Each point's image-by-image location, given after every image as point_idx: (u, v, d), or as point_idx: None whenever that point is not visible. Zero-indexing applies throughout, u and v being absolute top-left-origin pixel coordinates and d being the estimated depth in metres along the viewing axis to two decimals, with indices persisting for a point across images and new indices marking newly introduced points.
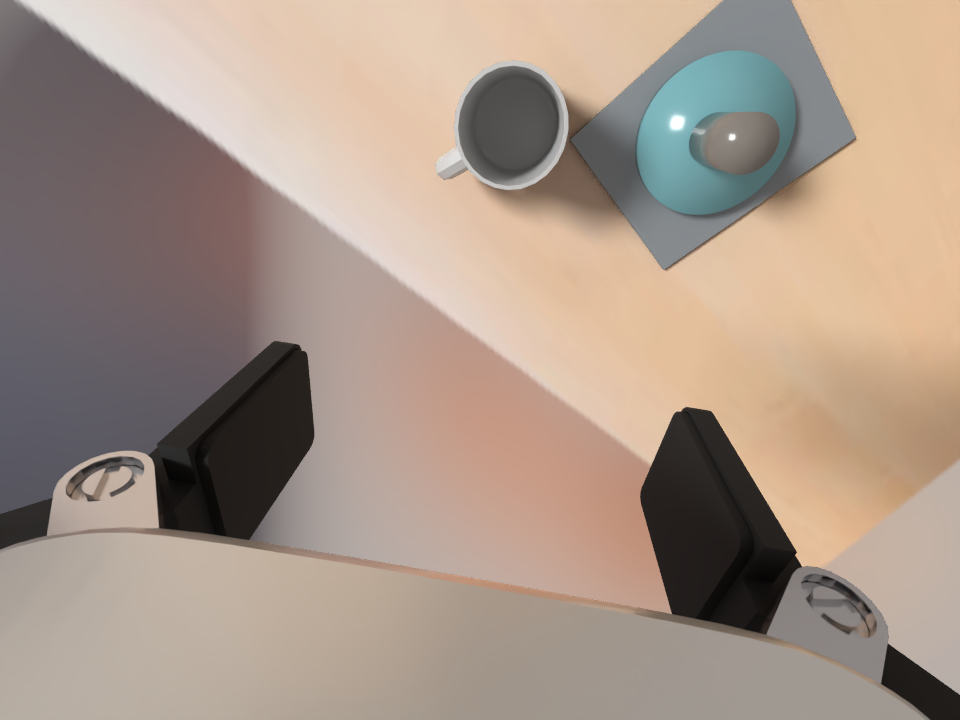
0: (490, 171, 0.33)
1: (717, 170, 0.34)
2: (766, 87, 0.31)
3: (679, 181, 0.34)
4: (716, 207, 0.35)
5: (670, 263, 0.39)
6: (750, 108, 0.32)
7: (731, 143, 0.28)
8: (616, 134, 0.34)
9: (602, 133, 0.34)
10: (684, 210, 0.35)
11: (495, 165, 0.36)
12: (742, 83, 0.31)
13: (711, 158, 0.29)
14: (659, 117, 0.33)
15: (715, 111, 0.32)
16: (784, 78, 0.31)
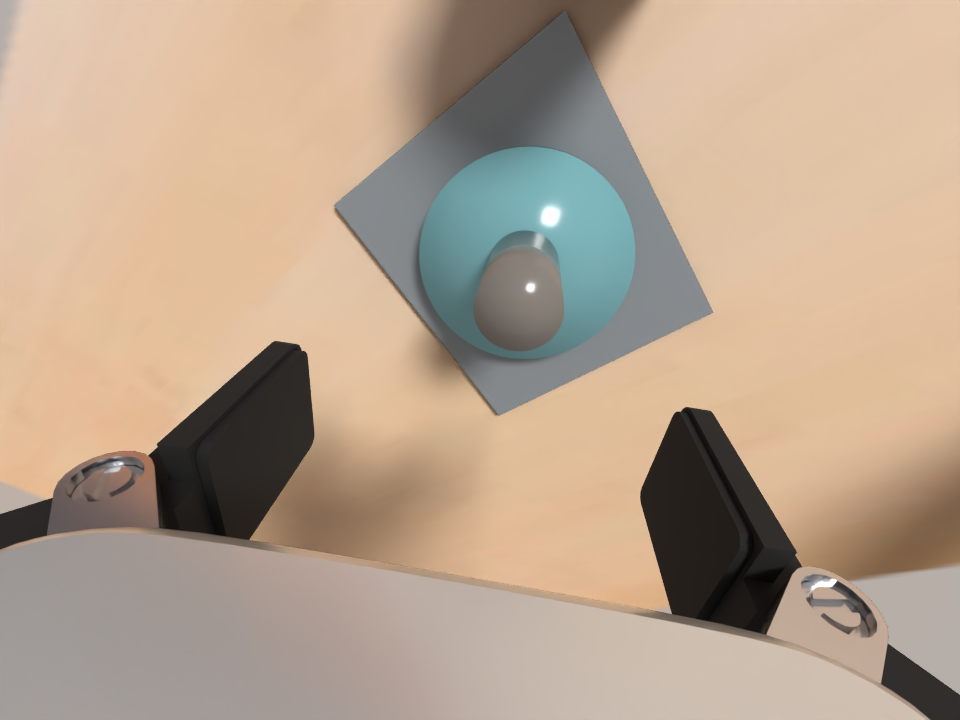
0: None
1: (480, 273, 0.23)
2: (575, 323, 0.24)
3: (470, 220, 0.22)
4: (429, 277, 0.23)
5: (345, 216, 0.24)
6: None
7: (524, 287, 0.17)
8: (556, 109, 0.20)
9: (563, 81, 0.19)
10: (426, 231, 0.22)
11: None
12: (587, 295, 0.23)
13: (502, 259, 0.18)
14: (570, 181, 0.20)
15: (560, 264, 0.22)
16: (580, 342, 0.24)
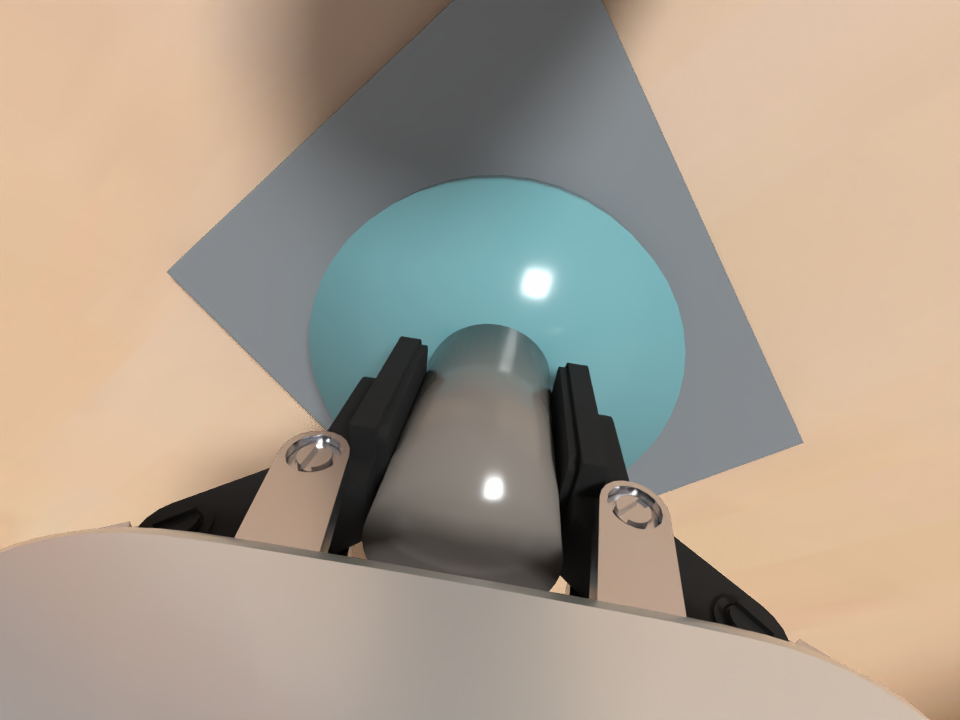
0: None
1: None
2: None
3: (392, 306, 0.12)
4: (331, 392, 0.14)
5: (188, 289, 0.14)
6: None
7: (469, 516, 0.07)
8: (542, 109, 0.10)
9: (554, 54, 0.10)
10: (317, 322, 0.13)
11: None
12: None
13: (429, 430, 0.08)
14: (568, 243, 0.11)
15: (552, 377, 0.13)
16: None
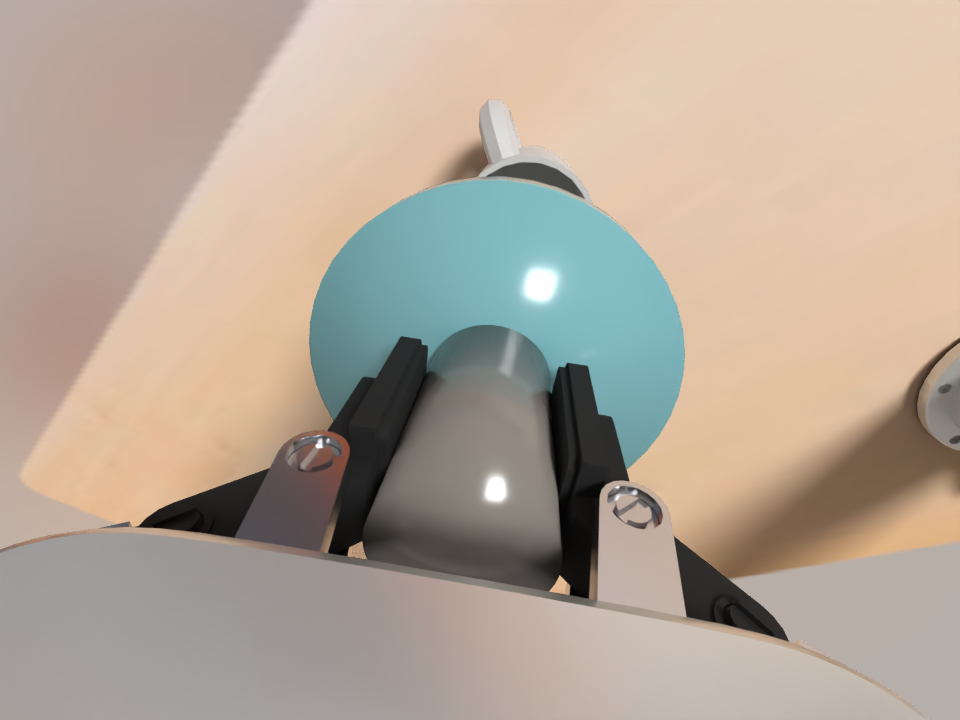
0: None
1: None
2: None
3: (392, 307, 0.12)
4: (331, 393, 0.14)
5: None
6: None
7: (469, 517, 0.07)
8: None
9: None
10: (317, 323, 0.13)
11: None
12: None
13: (429, 431, 0.08)
14: (568, 244, 0.11)
15: (552, 378, 0.13)
16: None
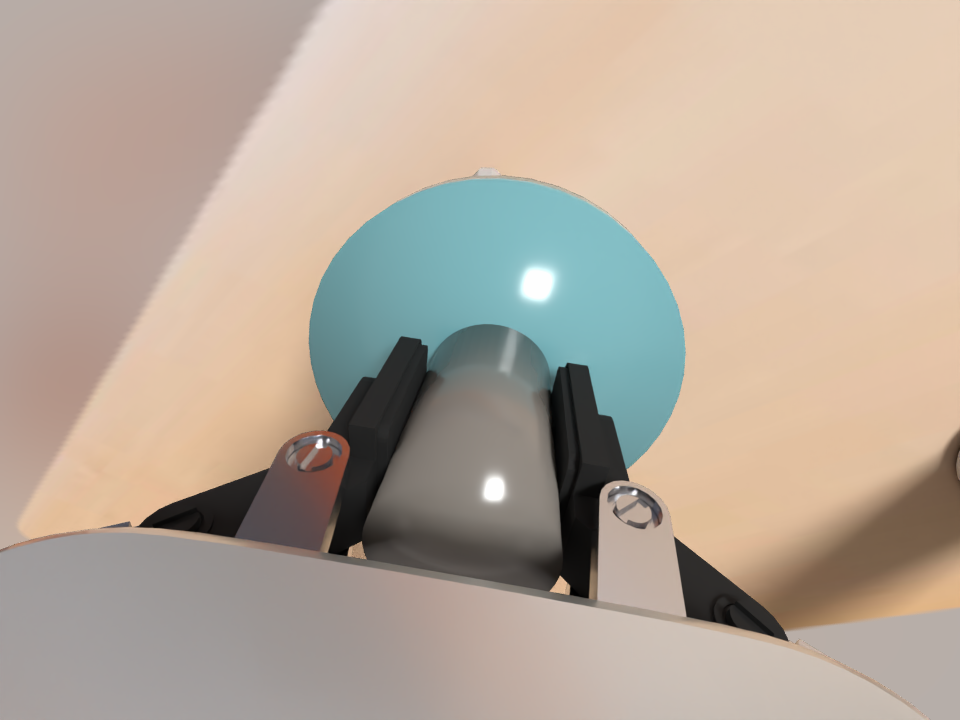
0: None
1: None
2: None
3: (392, 307, 0.12)
4: (331, 392, 0.14)
5: None
6: None
7: (469, 517, 0.07)
8: None
9: None
10: (317, 322, 0.13)
11: None
12: None
13: (429, 430, 0.08)
14: (568, 243, 0.11)
15: (552, 378, 0.13)
16: None
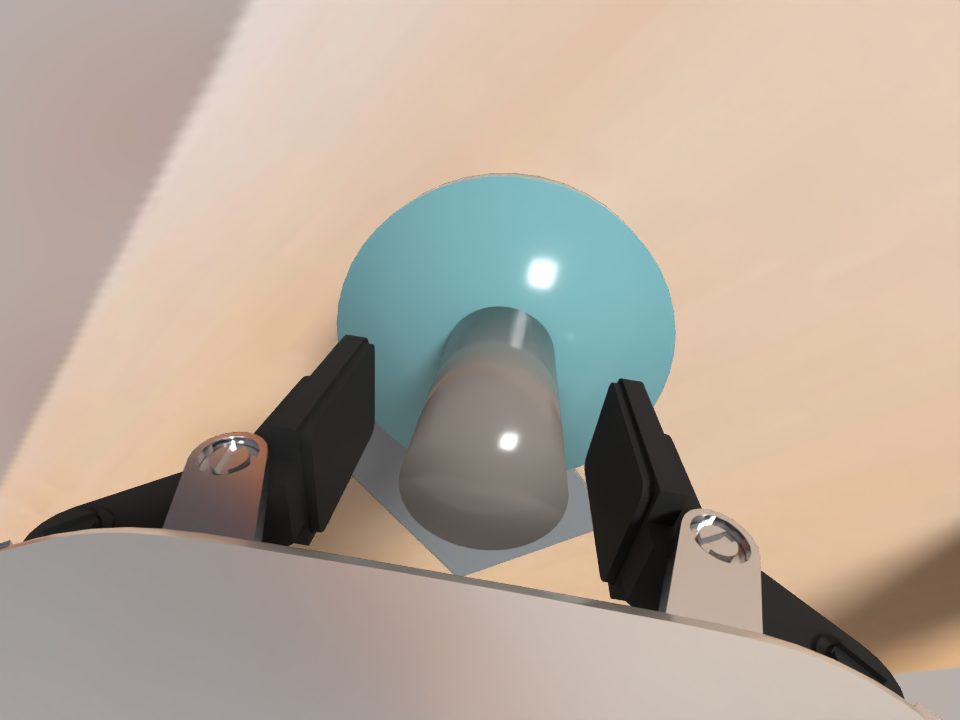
0: None
1: (434, 366, 0.15)
2: (579, 436, 0.16)
3: (414, 290, 0.14)
4: None
5: None
6: None
7: (491, 458, 0.09)
8: None
9: None
10: (345, 305, 0.14)
11: None
12: (598, 399, 0.15)
13: (454, 390, 0.10)
14: (572, 233, 0.12)
15: (557, 355, 0.14)
16: None
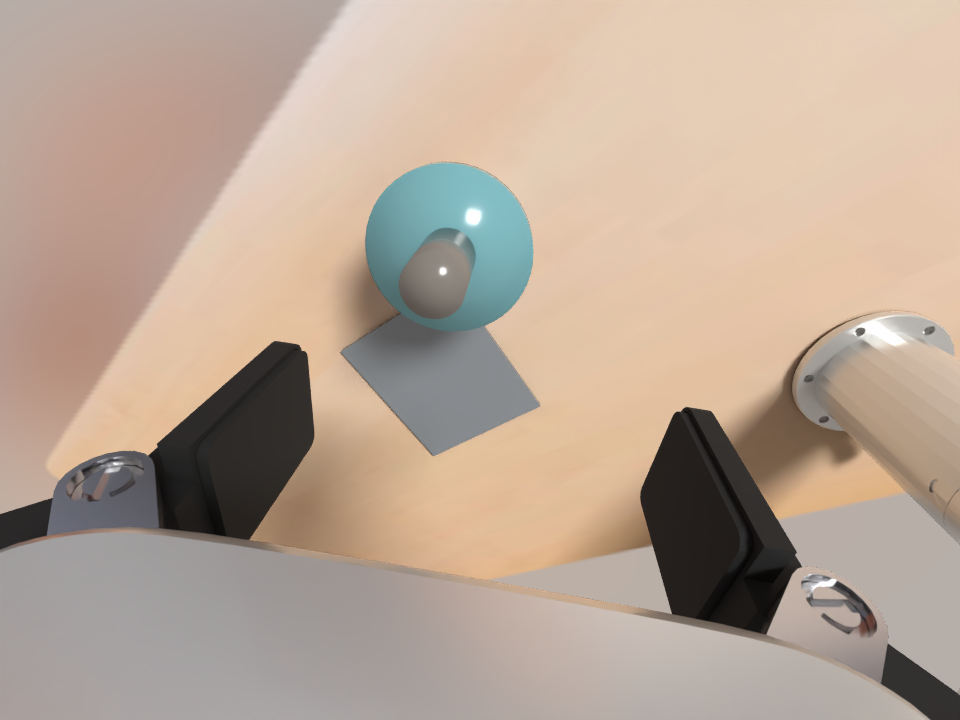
0: None
1: None
2: (492, 302, 0.30)
3: (404, 219, 0.27)
4: (374, 264, 0.29)
5: (346, 357, 0.44)
6: (474, 289, 0.29)
7: (434, 270, 0.23)
8: None
9: None
10: (370, 227, 0.28)
11: None
12: (499, 279, 0.29)
13: (421, 250, 0.24)
14: (479, 190, 0.26)
15: (476, 254, 0.28)
16: (497, 317, 0.30)
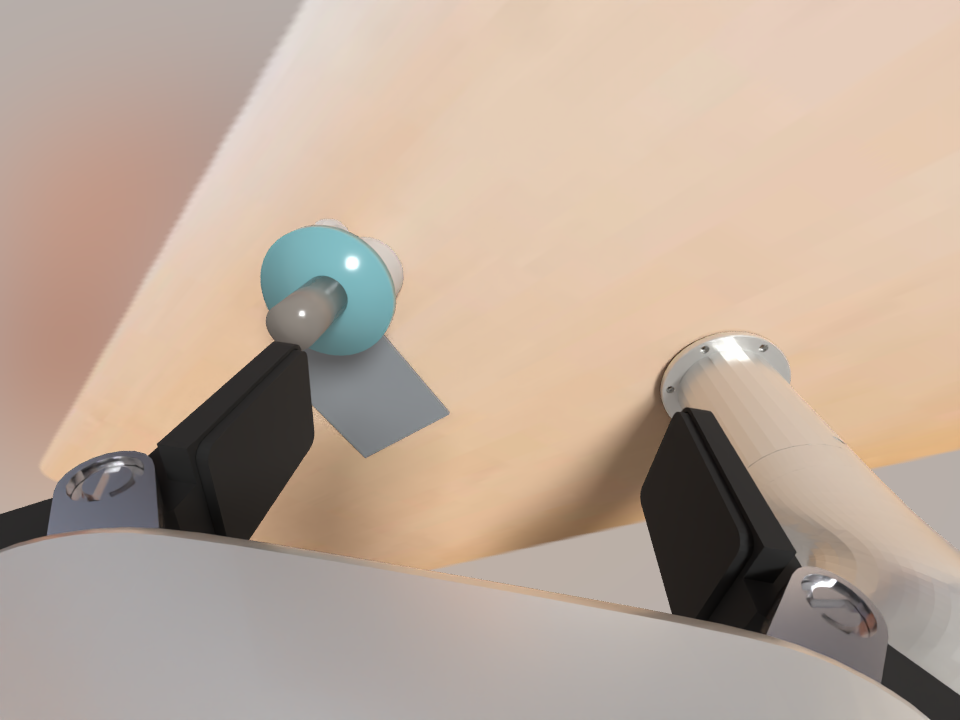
0: None
1: None
2: (366, 332, 0.37)
3: (288, 269, 0.35)
4: (270, 304, 0.37)
5: None
6: (351, 322, 0.37)
7: (290, 314, 0.30)
8: None
9: None
10: (263, 275, 0.35)
11: None
12: (368, 314, 0.36)
13: (285, 298, 0.31)
14: (341, 247, 0.33)
15: (347, 295, 0.35)
16: (372, 344, 0.37)
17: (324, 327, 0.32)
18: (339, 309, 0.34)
